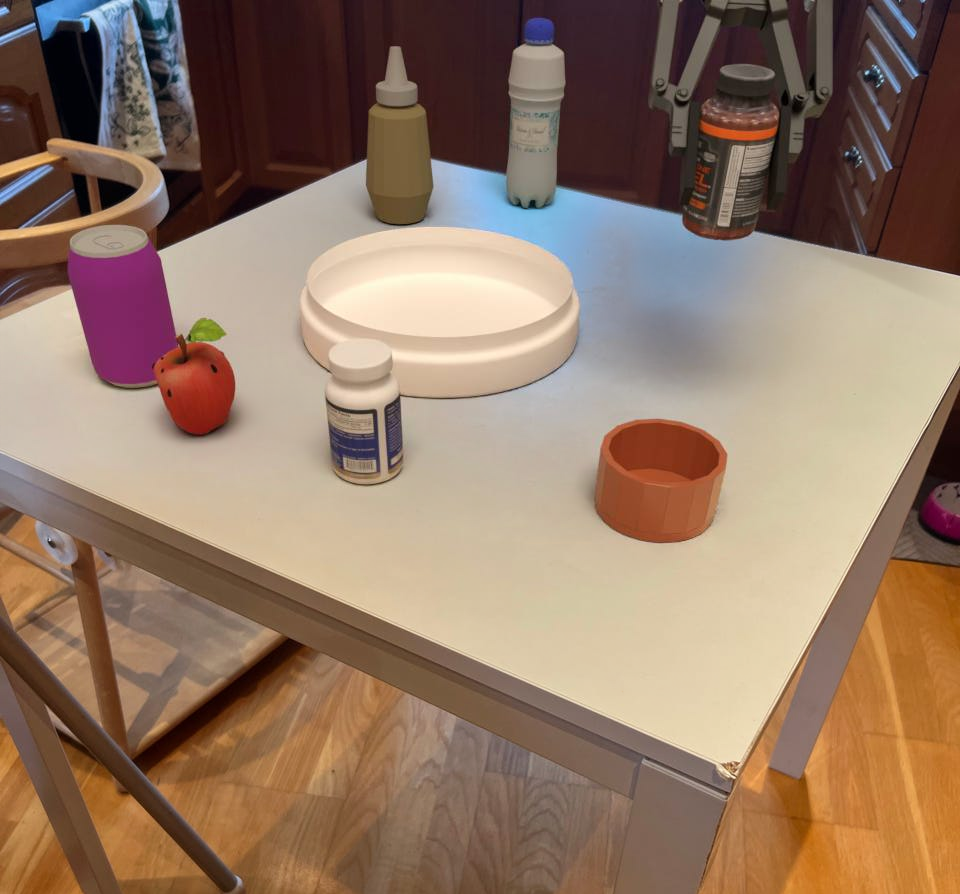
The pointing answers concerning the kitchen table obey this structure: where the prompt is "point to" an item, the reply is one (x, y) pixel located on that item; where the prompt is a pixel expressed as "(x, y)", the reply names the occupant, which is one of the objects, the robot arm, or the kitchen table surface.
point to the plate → (445, 308)
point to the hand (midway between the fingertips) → (731, 198)
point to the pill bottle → (364, 412)
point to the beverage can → (121, 303)
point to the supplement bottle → (733, 154)
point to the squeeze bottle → (398, 148)
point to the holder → (659, 479)
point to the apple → (197, 380)
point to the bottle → (535, 115)
